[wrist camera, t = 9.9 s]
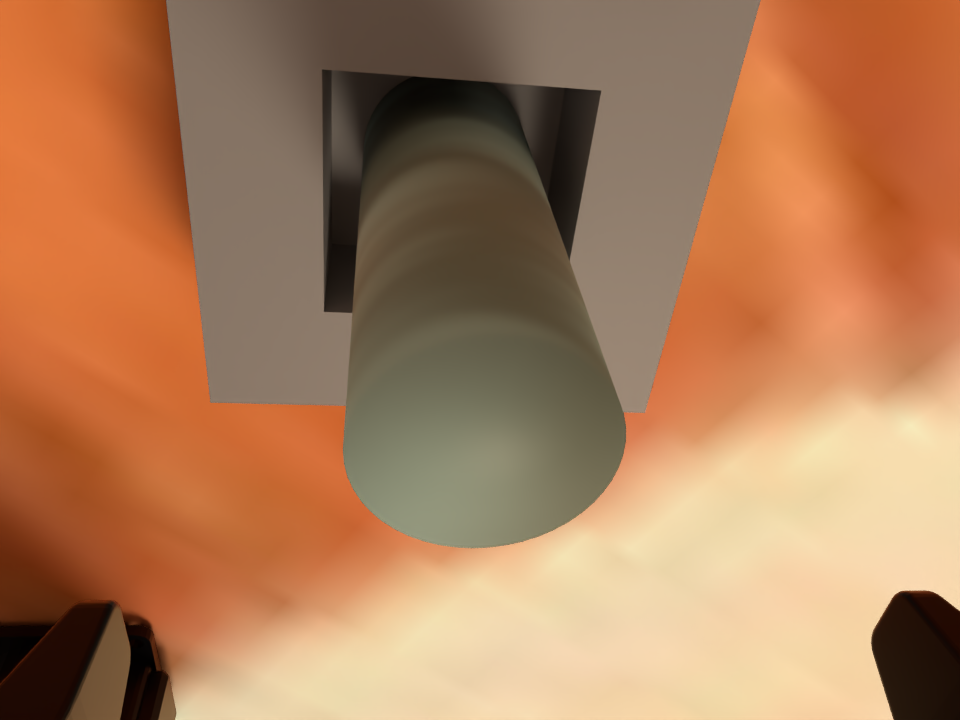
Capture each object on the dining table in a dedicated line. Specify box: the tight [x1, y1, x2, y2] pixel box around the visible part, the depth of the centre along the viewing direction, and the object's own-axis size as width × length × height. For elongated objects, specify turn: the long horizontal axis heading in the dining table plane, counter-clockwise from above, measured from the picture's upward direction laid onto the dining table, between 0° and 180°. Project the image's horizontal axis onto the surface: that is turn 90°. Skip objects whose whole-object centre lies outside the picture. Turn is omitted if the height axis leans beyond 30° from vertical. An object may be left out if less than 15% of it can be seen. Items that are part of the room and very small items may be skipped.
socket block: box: [166, 0, 760, 413], centre depth 18 cm, size 10×10×4 cm
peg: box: [343, 76, 626, 548], centre depth 15 cm, size 4×4×10 cm
